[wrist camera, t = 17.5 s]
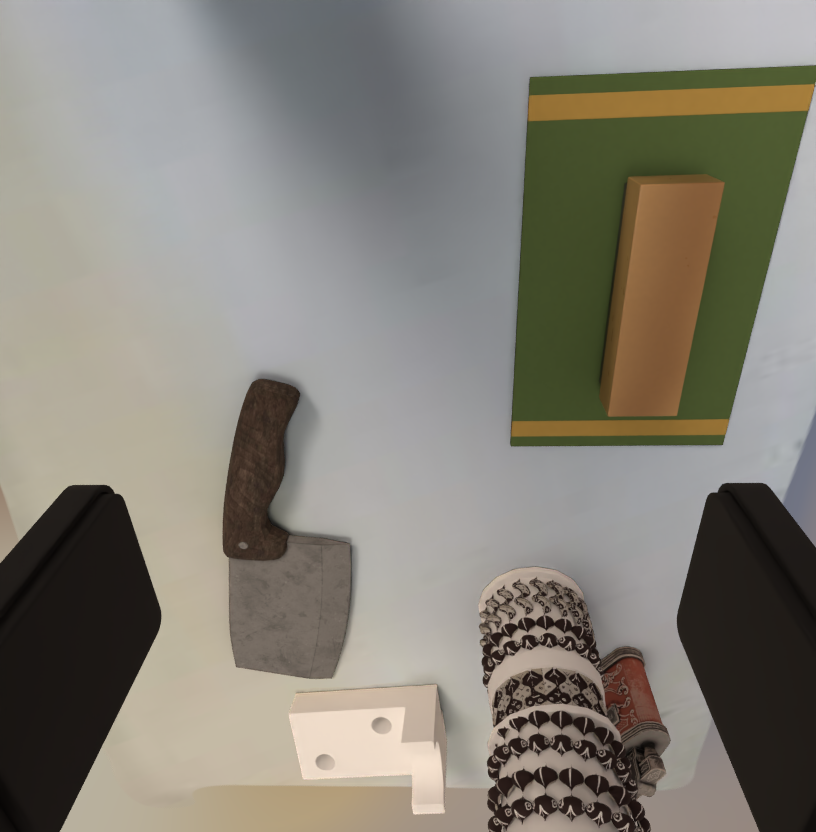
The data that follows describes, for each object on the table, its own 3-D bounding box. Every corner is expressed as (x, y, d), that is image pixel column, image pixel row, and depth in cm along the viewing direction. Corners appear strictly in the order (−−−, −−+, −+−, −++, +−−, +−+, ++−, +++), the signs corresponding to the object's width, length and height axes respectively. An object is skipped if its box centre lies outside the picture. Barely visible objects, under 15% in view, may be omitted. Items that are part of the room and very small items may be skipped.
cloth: (529, 77, 31) (530, 77, 31) (816, 65, 31) (820, 65, 30) (510, 444, 42) (510, 446, 42) (721, 442, 41) (722, 445, 41)
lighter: (616, 641, 51) (652, 759, 43) (651, 653, 52) (693, 772, 43) (567, 697, 55) (590, 815, 47) (600, 708, 56) (628, 827, 47)
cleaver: (219, 368, 40) (208, 384, 38) (368, 386, 40) (365, 402, 39) (235, 662, 55) (228, 683, 54) (344, 675, 55) (340, 696, 54)
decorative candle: (525, 660, 53) (582, 1073, 32) (449, 603, 50) (455, 1017, 29) (613, 608, 50) (745, 1034, 28) (537, 544, 47) (620, 965, 25)
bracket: (437, 677, 56) (433, 741, 49) (446, 742, 58) (444, 813, 51) (298, 686, 58) (275, 749, 50) (312, 749, 59) (291, 819, 52)
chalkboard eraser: (594, 388, 40) (607, 417, 36) (621, 172, 33) (640, 184, 30) (658, 388, 39) (677, 416, 36) (698, 170, 33) (725, 182, 30)
